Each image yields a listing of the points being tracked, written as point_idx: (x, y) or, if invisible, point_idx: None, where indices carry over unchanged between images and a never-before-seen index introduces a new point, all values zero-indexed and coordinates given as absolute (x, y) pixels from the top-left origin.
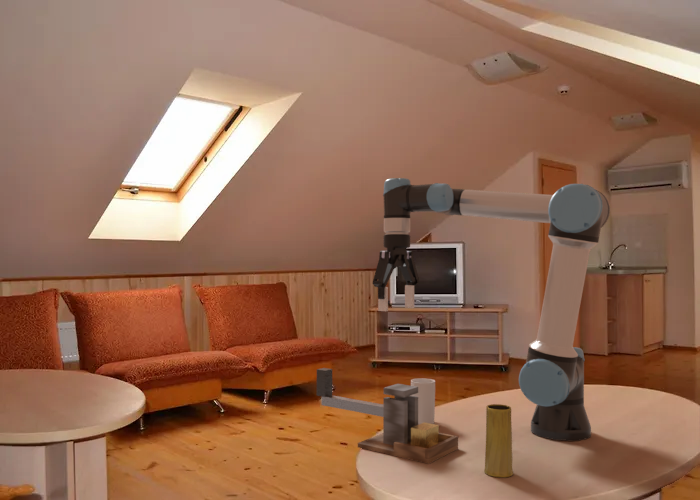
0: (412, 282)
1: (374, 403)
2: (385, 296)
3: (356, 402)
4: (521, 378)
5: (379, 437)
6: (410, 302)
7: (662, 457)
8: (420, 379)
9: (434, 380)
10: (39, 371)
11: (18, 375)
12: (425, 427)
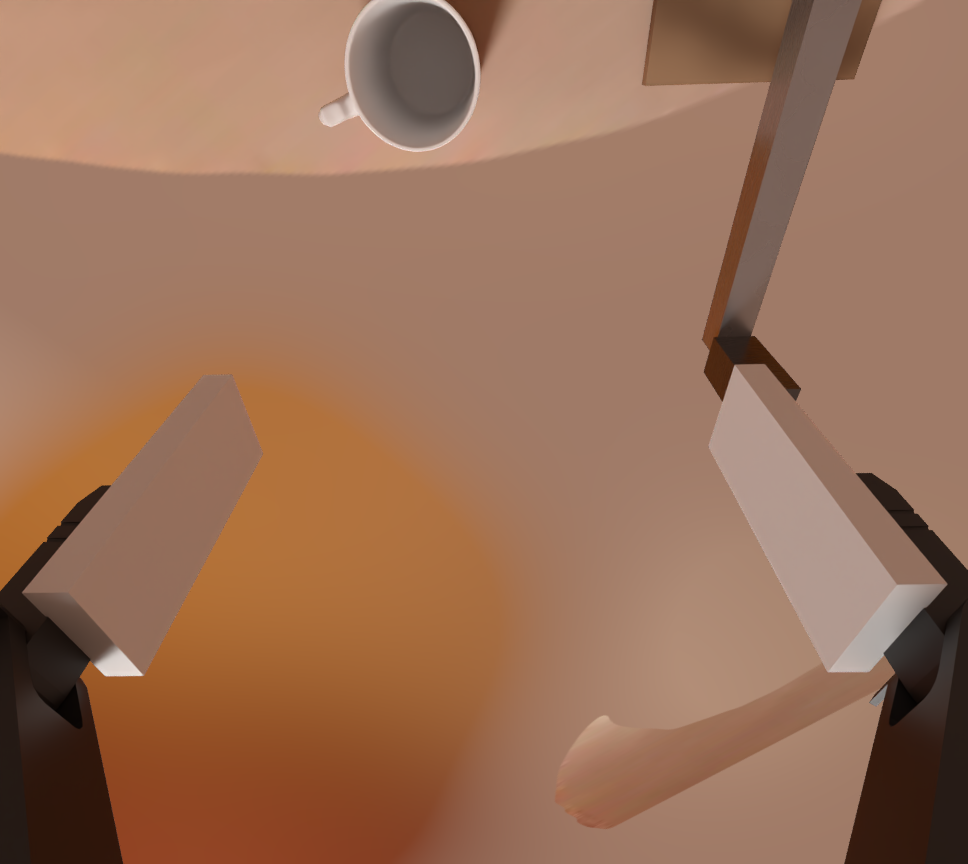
0: (21, 656)
1: (795, 102)
2: (850, 484)
3: (799, 186)
4: None
5: (752, 55)
6: (218, 436)
7: None
8: (376, 126)
9: (359, 16)
10: (587, 814)
11: (623, 812)
12: None
